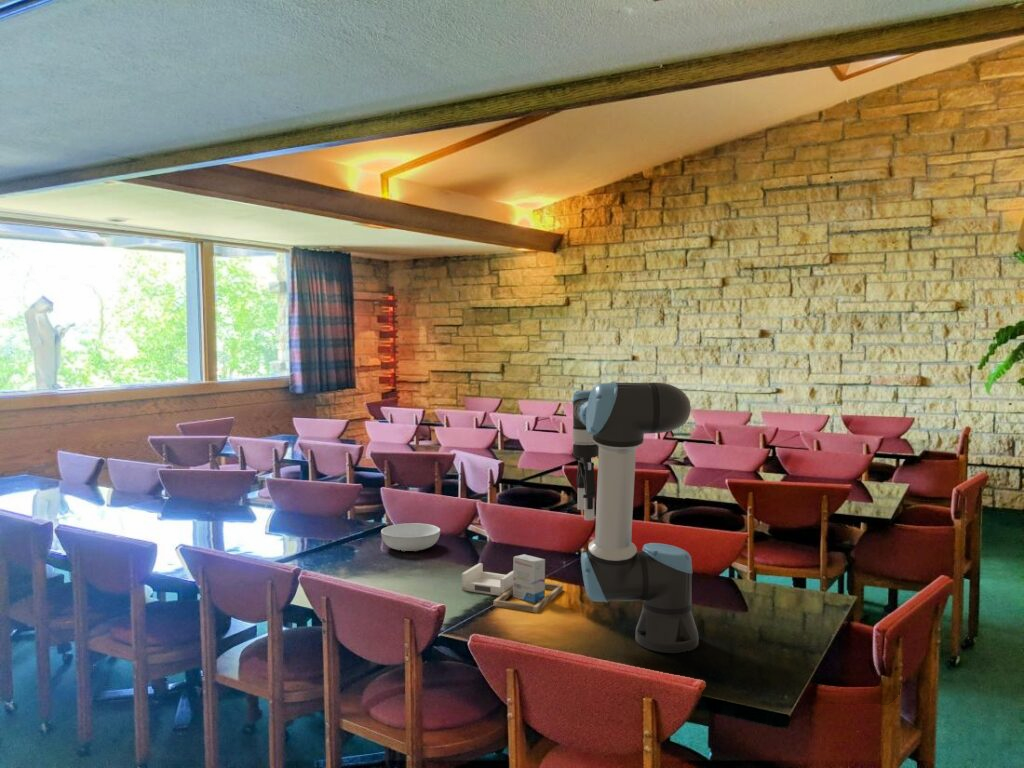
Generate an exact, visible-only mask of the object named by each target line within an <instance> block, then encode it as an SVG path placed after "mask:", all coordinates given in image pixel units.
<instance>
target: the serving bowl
mask: <svg viewBox="0 0 1024 768" xmlns="http://www.w3.org/2000/svg"><path fill="white" fill-rule="evenodd" d="M380 535H381V538H382V540H383V543H384V544H385V545H386V546H387V547H389V548H391V549H393V550H397V551H400V550H401V552H405V551H414V552H419V550H420V551H422V550H426V549H429V548H431V547H433V546H434V545H435V544H436V543H437V542H438V540H439V538H440V535H441V528H440V527H438V526H436V525H434V524H429V523H420V522H419V523H418V522H416V523H415V522H414V523H413V522H412V523H411V522H409V523H399V524H392V525H389V526H386V527H383V528H382V529H381V530H380Z"/></svg>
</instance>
